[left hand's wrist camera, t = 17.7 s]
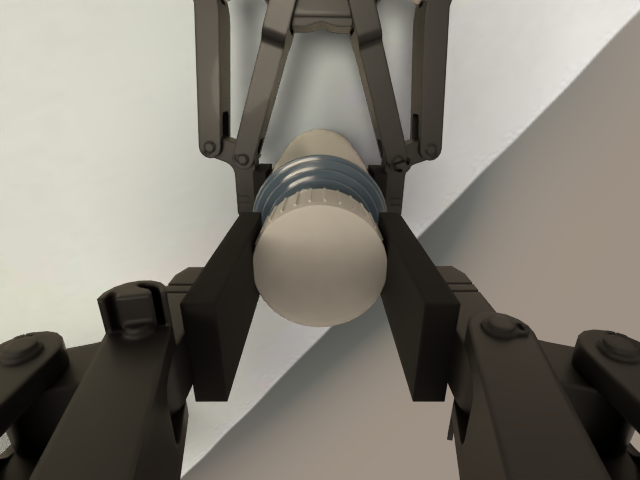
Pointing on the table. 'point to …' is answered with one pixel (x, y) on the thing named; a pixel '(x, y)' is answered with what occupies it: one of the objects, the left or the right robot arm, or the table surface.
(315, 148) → the bottle
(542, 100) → the table surface
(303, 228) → the cap
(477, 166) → the table surface
